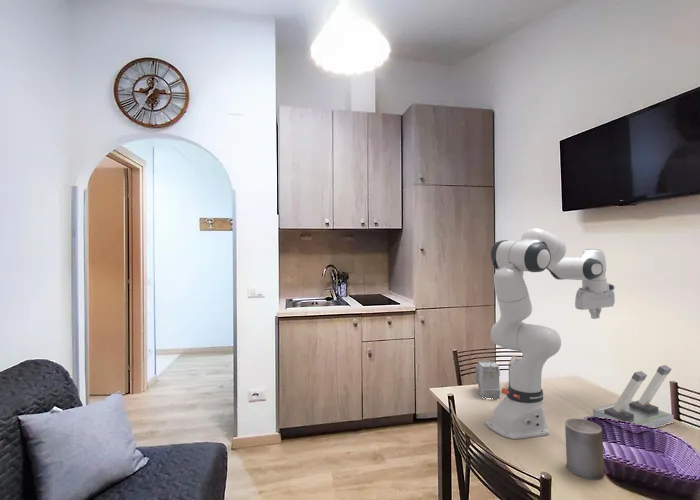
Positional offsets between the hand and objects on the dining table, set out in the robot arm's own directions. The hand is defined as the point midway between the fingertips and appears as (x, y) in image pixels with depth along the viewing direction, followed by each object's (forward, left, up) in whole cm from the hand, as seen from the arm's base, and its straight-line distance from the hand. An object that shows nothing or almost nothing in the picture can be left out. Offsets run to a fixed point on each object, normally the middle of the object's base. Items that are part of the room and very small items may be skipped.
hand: (595, 318), depth 158 cm
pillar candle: (-50, -30, -37) cm, 69 cm away
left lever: (-10, -15, -32) cm, 36 cm away
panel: (-2, -15, -37) cm, 40 cm away
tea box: (-18, +24, -37) cm, 48 cm away
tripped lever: (+5, -15, -32) cm, 35 cm away
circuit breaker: (-34, +29, -37) cm, 58 cm away
